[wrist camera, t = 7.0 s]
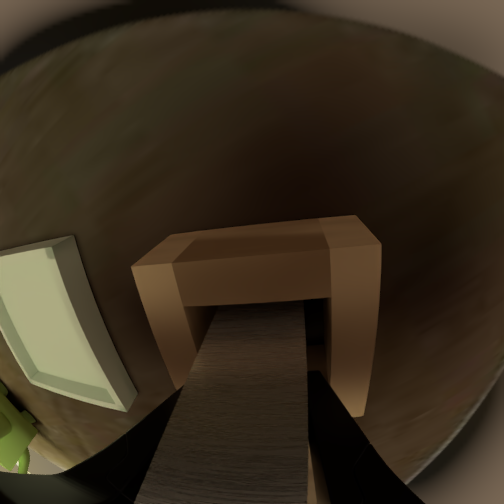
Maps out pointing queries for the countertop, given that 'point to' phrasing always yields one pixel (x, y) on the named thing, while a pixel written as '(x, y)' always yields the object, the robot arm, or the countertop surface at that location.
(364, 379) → the oak block
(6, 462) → the kettle
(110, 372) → the tray
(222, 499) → the grey wood bar
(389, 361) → the countertop surface
